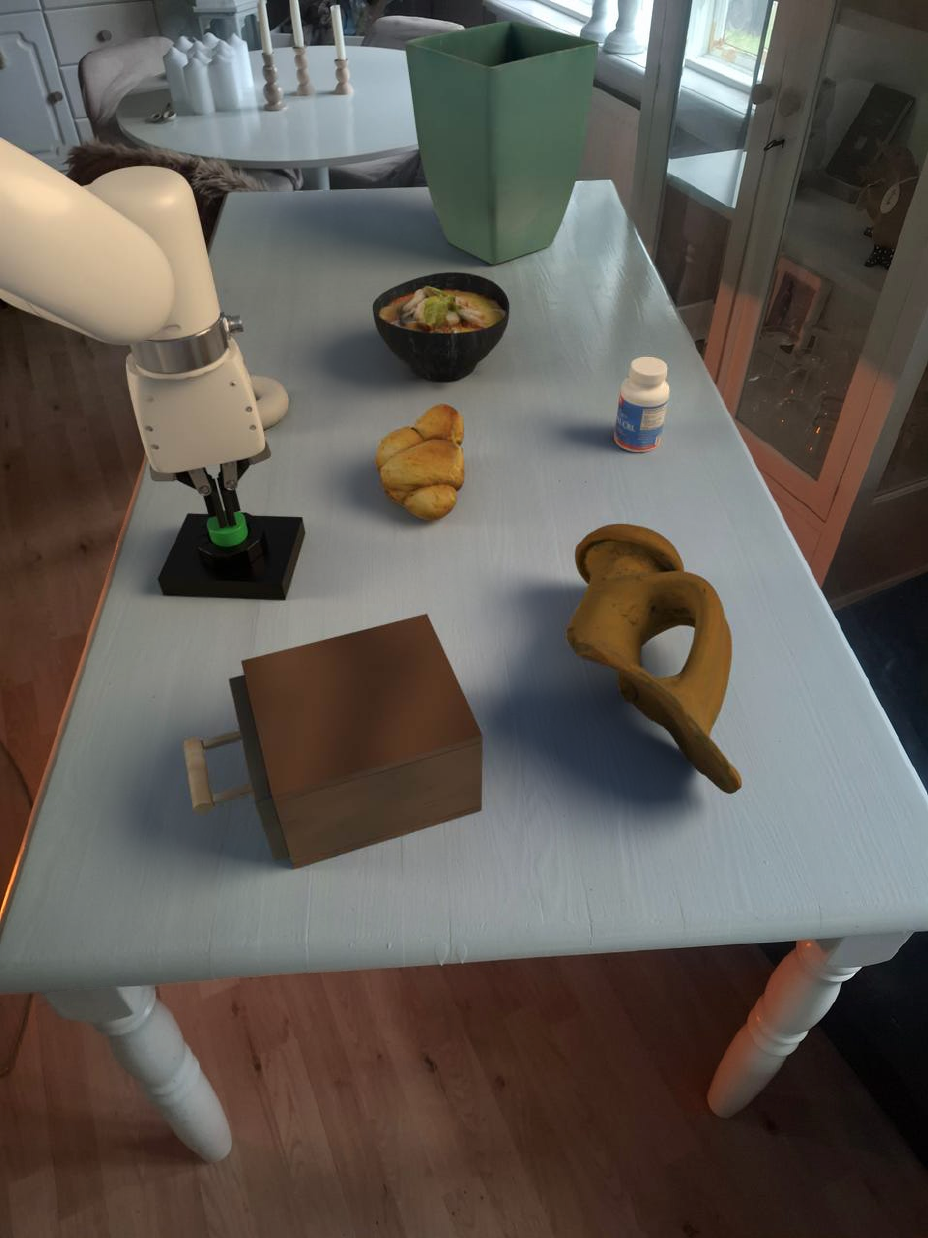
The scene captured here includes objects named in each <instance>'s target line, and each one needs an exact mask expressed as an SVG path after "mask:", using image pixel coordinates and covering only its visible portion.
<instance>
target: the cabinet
mask: <svg viewBox="0 0 928 1238" xmlns="http://www.w3.org/2000/svg"><path fill="white" fill-rule="evenodd" d="M240 662H241V668H242V671H243V675H244V676H245V681H246V685H247V689H248V694H249V698H250V703H251V707H252V711H253V716H254V720H255V724H256V729H257V733H258V738H259V742H260V746H261V751H262V755H263V760H264V764H265V768H266V773H267V777H268V781H269V786H270V790H271V795H272V798H273V802H274V805H275V808H276V812H277V815H278V818H279V821H280V825H281V828H282V831H283V835H284V838H285V841H286V844H287V848H288V851H289V854H290V856H289V858H290V860H291V864H292V868H293V869H294V870H296V869H299V868H303V867H305V866H308V865H311V864H312V865H313V864H315V863H318V862H322V861H325V860H328V859H332V858H334V857H337V856H341V855H344V854H347V853H350V852H354V851H357V850H360V849H363V848H367V847H369V846H373V845H377V844H379V843H383V842H385V841H389V840H392V839H395V838H398V837H401V836H405V835H408V834H412V833H415V832H418V831H421V830H423V829H427V828H431V827H433V826H436V825H439V824H443V823H447V822H449V821H453V820H456V819H459V818H462V817H465V816H468V815H472V814H475V813H478V812H481V811H482V810H483V809H482V808H483V733H482V731H481V728H480V726H479V723H478V722H477V720H476V717H475V716H474V713H473V711H472V709H471V706H470V704H469V702H468V700H467V698H466V695H465V693H464V691H463V688H462V687H461V685H460V682H459V680H458V678H457V675H456V674H455V671H454V670H453V666H452V665H451V663H450V661H449V658H448V656H447V654H446V651H445V649H444V648H443V645H442V643H441V641H440V638H439V637H438V634H437V632H436V629H435V628H434V625H433V623H432V621H431V619H430V617H429V615H428V613H424V614H420V615H417V616H411V617H407V618H405V619H404V618H403V619H401V620H397V621H393V622H389V623H385V624H379V625H377V626H373V627H369V628H365V629H361V630H356V631H353V632H349V633H345V634H340V635H337V636H333V637H330V638H329V637H328V638H325V639H321V640H318V641H314V642H313V641H312V642H310V643H306V644H301V645H298V646H294V647H289V648H286V649H282V650H278V651H274V652H271V653H266V654H263V655H258V656H254V657H251V658H246V659H243V660H241V661H240Z"/></svg>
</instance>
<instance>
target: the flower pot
mask: <svg viewBox="0 0 928 1238" xmlns="http://www.w3.org/2000/svg"><path fill="white" fill-rule="evenodd" d="M599 45H600V44H599V41H595V40H592V39H589V38H585V37H581V36H578V35H573V34H569V33H564V32H560V31H556V30H552V29H547V28H544V27H539V26H536V25H531V24H527V23H522V22H518V21H512V20H511V21H510V20H507V21H500V22H499V21H498V22H495V23H489V24H483V25H478V26H473V27H468V28H467V27H466V28H463V29H456V30H451V31H447V32H442V33H441V32H440V33H436V34H431V35H427V36H422V37H416V38H412V39H408V40H406V41H404V48H405V56H406V64H407V71H408V79H409V86H410V93H411V94H410V95H411V102H412V109H413V110H412V111H413V117H414V125H415V133H416V140H417V146H418V151H419V157H420V160H421V165H422V169H423V175H424V177H425V181H426V182H425V183H426V184H427V188H428V192H429V196H430V198H431V199H430V200H431V202H432V205H433V207H434V211H435V214H436V216H437V219H438V221H439V224H440V226H441V229H442V231H443V234H444V236H445V239H446V241H447V242H448V243H449V244H451V245H453V246H455V247H456V248H458V249H460V250H462V251H465V252H466V253H468V254H470V255H472V256H474V257H475V258H478V259H480V260H482V261H484V262H486V263H488V264H490V265H494V266H495V265H499V264H502V263H505V262H508V261H511V260H514V259H516V258H520V257H522V256H525V255H528V254H532V253H534V252H537V251H539V250H543V249H546V248H548V247H550V246H553V245H552V244H553V242H554V241H555V239H556V236H557V235H558V232H559V229H560V227H561V225H562V223H563V220H564V219H565V218H564V217H565V215H566V212H567V209H568V207H569V203H570V201H571V197H572V194H573V192H574V188H575V185H576V181H577V178H578V175H579V170H580V167H581V166H580V165H581V162H582V159H583V153H584V148H585V143H586V136H587V127H588V123H589V122H588V121H589V114H590V107H591V100H592V92H593V87H594V80H595V79H594V78H595V72H596V65H597V59H598V54H599V47H600V46H599Z"/></svg>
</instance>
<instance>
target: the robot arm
mask: <svg viewBox="0 0 928 1238" xmlns="http://www.w3.org/2000/svg"><path fill="white" fill-rule="evenodd" d="M209 258H210V257H209V254H208V251H207V246H206V242H205V237H204V233H203V227H202V223H201V219H200V215H199V211H198V205H197V202H196V198H195V195H194V192H193V188H192V186H191V185H190V184H189V182H188V181H187V179H186V178H185V177H184V176H183V175H182V174H180V173H179V172H177V171H175V170H173V169H170V168H167V167H161V166H155V165H154V166H153V165H137V166H136V165H135V166H130V167H129V166H128V167H123V168H119V169H115V170H111V171H110V172H107V173H104V174H102V175H101V176H99V177H97V178H96V179H94V180H93V181H92V182H91V183H89V184H86V185H80V184H78V183H77V182H75V181H74V180H72V179H71V178H69V177H68V176H66V175H65V174H63V173H62V172H60V171H58V170H57V169H55V168H53V167H51V165H49V164H46V163H45V162H44V161H42V160H40V159H38V158H37V157H35V156H34V155H31V154H30V153H28V152H27V151H25V150H24V149H22V148H20V147H18V146H16V145H15V144H13V143H11V142H9V141H8V140H6V139H5V138H2V137H1V136H0V299H1V300H2V301H3V302H6V303H7V304H9V305H11V306H13V307H15V308H17V309H18V310H21V311H24V312H27V313H29V314H30V315H34V316H36V317H39V318H40V319H41V318H42V319H44V320H47V321H49V322H52V323H55V324H58V325H60V326H63V327H65V328H68V329H70V330H72V331H75V332H78V333H80V334H83V335H85V336H86V337H89V338H91V339H94V340H97V341H99V342H102V343H104V344H107V345H113V346H114V345H115V346H129V349H130V353H129V354H128V355H127V356H126V358H125V369H126V370H125V372H126V378H127V386H128V390H129V394H130V399H131V403H132V408H133V412H134V415H135V419H136V423H137V427H138V430H139V434H140V437H141V442H142V444H143V445H142V446H143V449H144V452H145V454H146V457H147V459H148V462H149V473H150V479H151V481H153V482H157V483H158V482H175V481H178V482H179V483H181V484H183V485H185V486H187V487H190V489H191V488H192V489H194V490H195V491H197V493H198V495H200V496H202V497H203V501H204V505H205V508H206V511H207V514H208V515H209V518H211V517H215V516H217V519H218V523H219V526H220V529H221V528H225V526H227V522H226V518H225V514H224V510H225V512H226V516H227V520H228V523H229V525H231V526H234V525H237V524H236V520H235V516H234V512H241V511H242V510H241V506H240V501H239V497H238V494H237V490H236V489H237V488H238V485H239V484H238V482H239V480H241V478H242V477H243V476H244V475H245V473H246V472H247V470H249V468H250V466H252V465H253V466H254V465H257V464H259V463H261V462H263V461H266V460H268V459H270V458H271V456H272V452H271V449H270V446H269V444H268V442H267V440H266V438H265V433H264V432H265V431H264V430H263V427H262V422H261V418H260V414H259V411H258V407H257V402H256V399H255V395H254V392H253V388H252V385H251V381H250V377H249V374H250V373H249V371H248V368H247V366H246V363H245V360H244V357H243V355H242V352H241V350H240V348H239V346H238V344H237V342H236V340H235V339H234V338H233V337H232V336H235V335H236V334H237V333H243V332H244V327H243V322H242V318H241V316H240V314H236V315H232V316H231V314H225V312H224V311H221V308H220V303H219V299H218V295H217V294H218V293H217V291H216V286H215V281H214V277H213V272H212V267H211V264H210V259H209ZM217 465H219V472H218V474H217V477H216V478H215V477H214V478H213V475H212V474H210V473H209V472H208V470H207V468H208V467H213V466H217Z"/></svg>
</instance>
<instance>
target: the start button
mask: <svg viewBox="0 0 928 1238" xmlns="http://www.w3.org/2000/svg"><path fill="white" fill-rule="evenodd" d="M223 510H224V514H225V518H226V522H227V526H225V528H221V529H220V526H219V523H218V519H217V516H215V517H211V518H209V519H208V521H207V528H208V531H209V535H210V538H211V541H212V542H213V543H214V544H215V545H217V546H221V547H230V546H234V545H237V544H240V543H241V542H243V541H244V540H245V539H246V537H247V535H248V529H247V525H246V521H245V517H244V515H243V514H242V513H240V512H241V511H238V512H234V516H235V520H236V524H237V525H234V526H231V525H229V523H228V520H227V516H226V512H225V509H223Z"/></svg>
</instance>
